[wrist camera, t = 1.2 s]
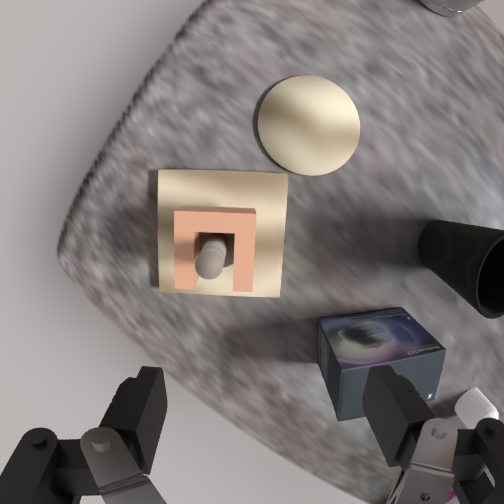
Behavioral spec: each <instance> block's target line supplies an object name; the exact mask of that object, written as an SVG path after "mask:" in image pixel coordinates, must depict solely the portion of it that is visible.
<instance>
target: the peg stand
mask: <svg viewBox="0 0 504 504" xmlns="http://www.w3.org/2000/svg"><path fill="white" fill-rule="evenodd" d="M287 188H288V174H283V173H267V172H248V171H223V170H158V267H159V292H171V293H188V294H206V295H227V296H251V297H280V285H281V273H282V260H283V247H284V234H285V219H286V204H287ZM182 206H211V207H237V208H255V210H256V233H255V252H254V270H253V289H252V292H236V291H233V268H234V241H235V233H212V232H200V254H199V256H198V258H197V260H196V262H195V269H196V272H197V273H198V275H199V278H198V280H197V283H196V285H195V288H194V289H177V288H175V274H174V211H175V210H177V209H178V208H180V207H182Z"/></svg>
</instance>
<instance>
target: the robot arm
mask: <svg viewBox="0 0 504 504" xmlns="http://www.w3.org/2000/svg"><path fill="white" fill-rule="evenodd" d="M419 1H420V2H421V3H422V4H424V5H425V6H426V7H427V8H429V9H430V10H432V11H434V12H436V13H438V14H440V15H443V16H446V17H455V16H458V15H459V14H461V13H463V12H464V11H466V10H468V9H470V8H471V7H473V6H475V5H477V4H479V3H480V2H482V1H484V0H419ZM362 407H363V411H364V413H365V415H366V417H367V419H368V422H369V424H370V426H371V428H372V430H373V432H374V435H375V437H376V439H377V441H378V444H379V446H380V448H381V450H382V452H383V455H384V457H385V459H386V461H387V464H388V466H389V467H394V466H398V465H400V466H401V468H402V470H401V472H400V473H399V476H398V478H397V480H396V483H395V485H394V487H393V490H392V492H391V494H390V496H389V498H388V501H387V503H386V504H448V501H449V497H450V494H451V490H452V488H453V490H454V492H455V494H456V496H457V499H458V501H459V503H460V504H504V424H503V423H502V422H501V421H500V420H498V419H495V418H483V419H481V420H480V421H479V422H478V423H477V425H476V427H475V429H457V428H456V426H455V425H454V424H453V423H452V422H450V421H448V420H446V419H442V418H436V417H435V415H434V414H433V412H432V411H431V410H430V408H429V407H428V405H427V404H426V402H425V401H424V400H423V398H422V397H421V395H420V394H419V393H418V391H416V388H415V387H414V386H413V384H412V383H411V381H409V380H408V379H406V378H405V377H403V376H402V375H397V374H396V373H395V371H394V370H393V368H392V367H391V366H390V365H380V366H372V367H370V369H369V372H368V376H367V381H366V385H365V388H364V392H363V396H362ZM166 412H167V395H166V388H165V382H164V374H163V370H162V368H160V367H147V366H142V367H141V369H140V371H139V373H138V376H137V378H132V377H129V378H127V379H126V380H125V381H124V382H123V383H121V384H120V386H119V388H118V389H117V391H116V395H115V396H114V397H113V399H112V402H111V403H110V405H109V407H108V409H107V411H106V413H105V415H104V417H103V419H102V421H101V423H100V425H99V427H97V428H93V429H90V430H88V431H87V432H85V433H84V435H83V436H82V437H81V439H76V440H75V439H72V440H71V439H69V440H58V438H57V436H56V435H55V433H54V432H53V431H51V430H49V429H47V428H34V429H31V430H29V431H28V432H26V433H25V434H24V435H23V437H22V438H21V440H20V442H19V443H18V445H17V447H16V449H15V450H14V452H13V454H12V456H11V458H10V459H9V461H8V463H7V464H6V466H5V468H4V470H3V472H2V474H1V475H0V504H79V503H80V500H81V497H82V496H83V495H84V496H89V495H101V496H102V498H103V500H104V502H105V503H106V504H167V503H166V502H165V500H164V499H163V498H162V496H161V495H160V493H159V492H158V491H157V489H156V488H155V486H154V485H153V483H152V482H151V480H150V479H149V478H148V477H147V476H144V475H143V474H147V475H150V471H151V467H152V464H153V460H154V456H155V452H156V449H157V445H158V441H159V438H160V434H161V430H162V427H163V423H164V420H165V416H166ZM486 467H487V468H488V469H489V471H490V473H491V474H492V476H493V478H494V480H495V487H493V485H492V484H491V482H490V480H489V478H488V477H487V475H486V473H485V471H484V470H485V468H486Z"/></svg>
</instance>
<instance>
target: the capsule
mask: <svg viewBox="0 0 504 504" xmlns="http://www.w3.org/2000/svg"><path fill="white" fill-rule="evenodd" d="M455 412H456V413H457V415H458V416H459V417H460V419H461V420H462V421H463V423H464V424H465V425H466V427H467V428H468V429H475V427H476V425H477V423H478V422H479V421H480V420H481V419H483V418H495V419H498V412H497V410H496V408H495V407H494V406H493V405H492V403H491V402H490V401H489V400H488V399H487V398H486V397H485V396H484V395H483V393H482V392H481V391H480V390H479V389H478V388H472V389H470V390H468V391H467V392H465V393H464V394H463V395H462V396H461V397H460V398H459V400H458V401H457V403H456V405H455Z"/></svg>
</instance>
